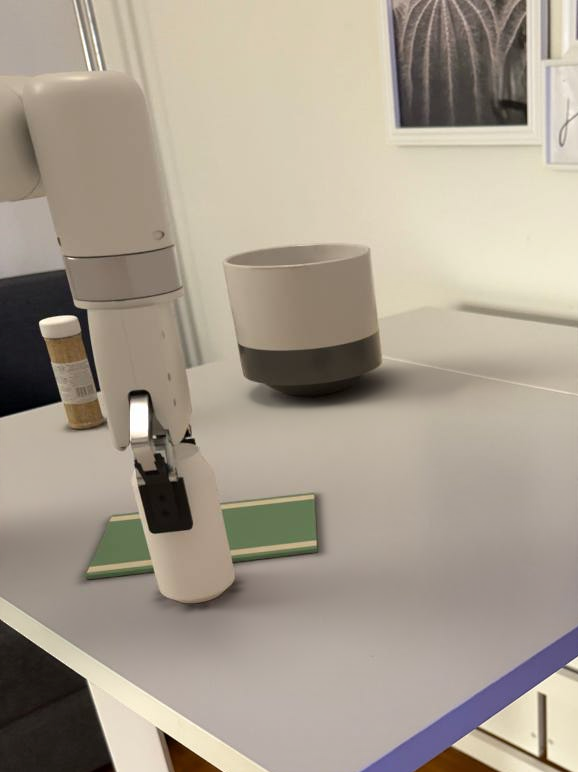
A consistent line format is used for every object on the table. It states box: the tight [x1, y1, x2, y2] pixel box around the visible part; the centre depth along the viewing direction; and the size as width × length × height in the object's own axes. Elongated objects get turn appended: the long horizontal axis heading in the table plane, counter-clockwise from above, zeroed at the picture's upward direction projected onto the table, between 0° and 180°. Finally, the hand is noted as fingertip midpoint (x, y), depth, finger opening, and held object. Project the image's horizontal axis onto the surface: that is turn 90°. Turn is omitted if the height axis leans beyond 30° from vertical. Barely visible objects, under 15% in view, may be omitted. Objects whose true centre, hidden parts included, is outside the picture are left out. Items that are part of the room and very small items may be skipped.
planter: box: [222, 242, 383, 397], centre depth 127 cm, size 19×19×18 cm
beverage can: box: [130, 443, 236, 604], centre depth 75 cm, size 6×6×12 cm
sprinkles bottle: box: [38, 315, 105, 430], centre depth 118 cm, size 5×5×14 cm
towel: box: [85, 492, 319, 580], centre depth 88 cm, size 20×14×1 cm
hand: (178, 507), depth 74 cm, fingers open, 8 cm apart
